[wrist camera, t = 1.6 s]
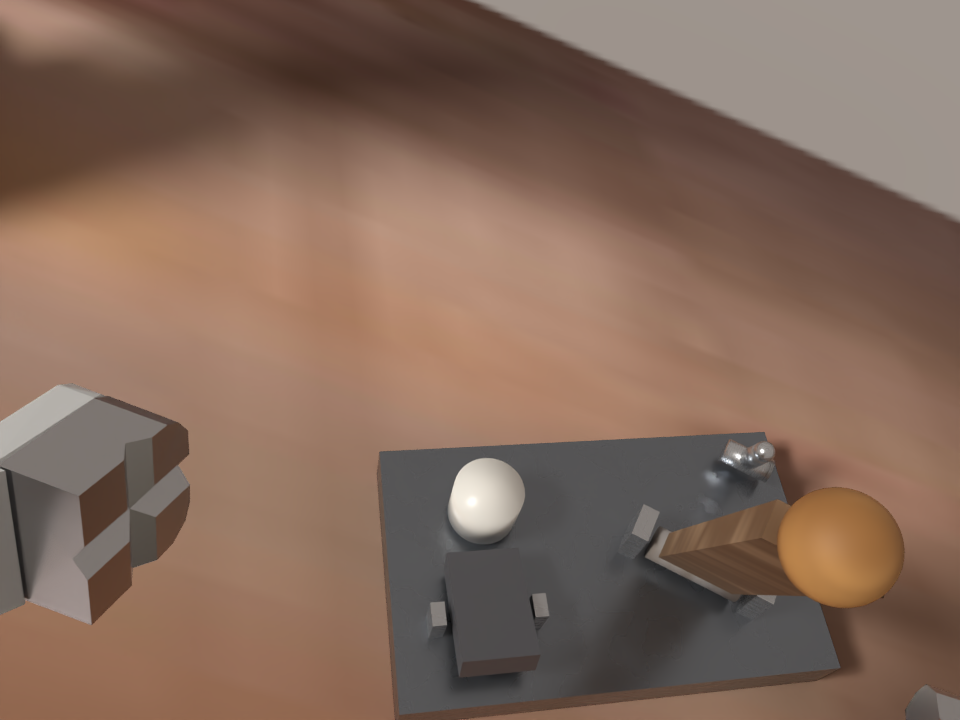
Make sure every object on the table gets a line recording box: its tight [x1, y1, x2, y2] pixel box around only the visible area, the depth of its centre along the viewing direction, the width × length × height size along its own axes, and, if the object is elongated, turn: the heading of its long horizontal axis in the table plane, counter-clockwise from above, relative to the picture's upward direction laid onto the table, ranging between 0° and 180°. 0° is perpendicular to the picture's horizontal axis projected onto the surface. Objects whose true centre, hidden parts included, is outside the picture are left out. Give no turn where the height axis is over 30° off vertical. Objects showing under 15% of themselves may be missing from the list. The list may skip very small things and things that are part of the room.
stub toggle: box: [719, 439, 775, 482], centre depth 43 cm, size 1×2×4 cm, turn 64°
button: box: [448, 458, 525, 544], centre depth 41 cm, size 3×3×2 cm
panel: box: [377, 432, 841, 720], centre depth 42 cm, size 12×20×5 cm, turn 97°
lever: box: [645, 487, 904, 608], centre depth 32 cm, size 3×4×20 cm
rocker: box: [444, 548, 541, 678], centre depth 38 cm, size 5×3×1 cm, turn 7°
